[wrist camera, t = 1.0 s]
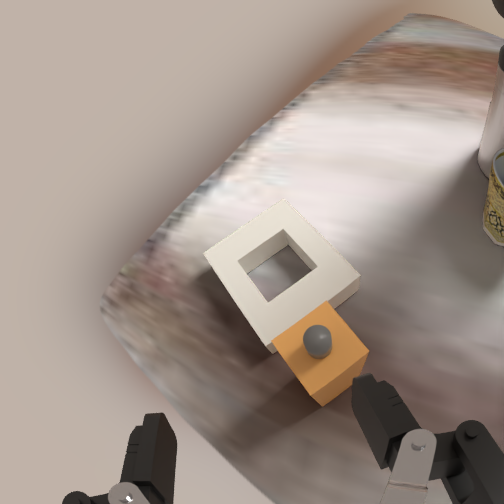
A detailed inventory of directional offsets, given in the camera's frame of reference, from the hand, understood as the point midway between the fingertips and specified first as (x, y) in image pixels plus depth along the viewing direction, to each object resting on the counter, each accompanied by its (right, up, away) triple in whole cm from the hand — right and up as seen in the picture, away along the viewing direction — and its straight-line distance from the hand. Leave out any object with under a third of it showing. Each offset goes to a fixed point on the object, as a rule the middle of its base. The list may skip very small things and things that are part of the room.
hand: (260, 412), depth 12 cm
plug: (+7, -6, +18) cm, 21 cm away
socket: (+3, +4, +26) cm, 26 cm away
